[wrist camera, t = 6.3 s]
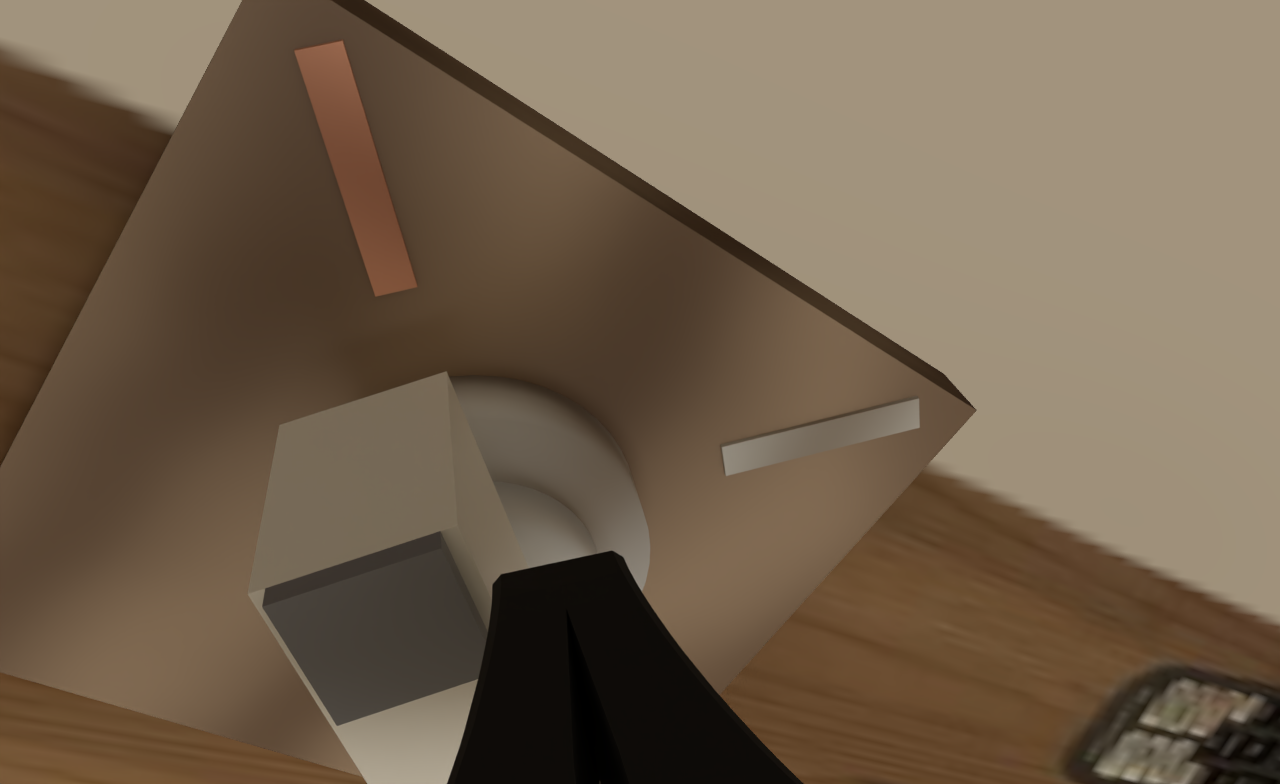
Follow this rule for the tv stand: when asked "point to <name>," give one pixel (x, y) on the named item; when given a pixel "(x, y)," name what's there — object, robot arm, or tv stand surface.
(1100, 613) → the tv stand surface
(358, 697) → the lock handle
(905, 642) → the tv stand surface
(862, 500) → the base
